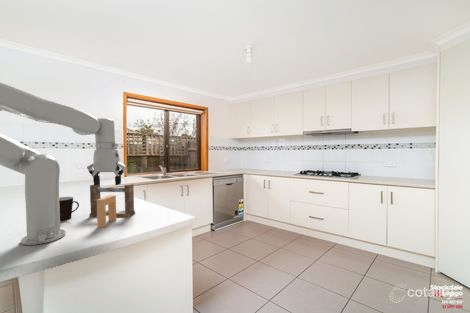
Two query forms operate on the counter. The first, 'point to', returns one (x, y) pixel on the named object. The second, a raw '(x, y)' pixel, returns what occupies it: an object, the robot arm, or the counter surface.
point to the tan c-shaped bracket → (101, 210)
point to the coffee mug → (66, 207)
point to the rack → (127, 189)
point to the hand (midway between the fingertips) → (107, 184)
